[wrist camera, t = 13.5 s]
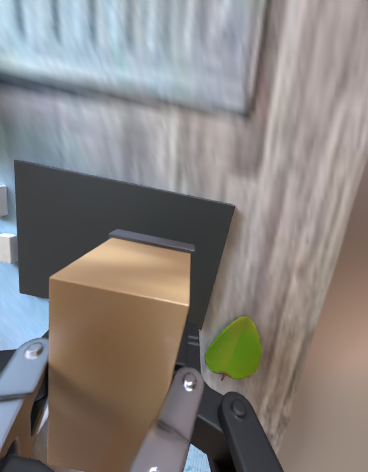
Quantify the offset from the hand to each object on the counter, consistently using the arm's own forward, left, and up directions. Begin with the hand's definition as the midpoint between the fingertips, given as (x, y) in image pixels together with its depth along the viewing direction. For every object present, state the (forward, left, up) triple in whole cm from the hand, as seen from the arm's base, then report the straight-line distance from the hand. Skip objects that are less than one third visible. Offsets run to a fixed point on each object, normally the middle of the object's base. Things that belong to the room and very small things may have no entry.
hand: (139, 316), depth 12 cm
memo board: (+5, 0, -10) cm, 11 cm away
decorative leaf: (-11, +10, -10) cm, 18 cm away
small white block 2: (+18, +2, -9) cm, 20 cm away
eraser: (0, 0, -1) cm, 1 cm away
